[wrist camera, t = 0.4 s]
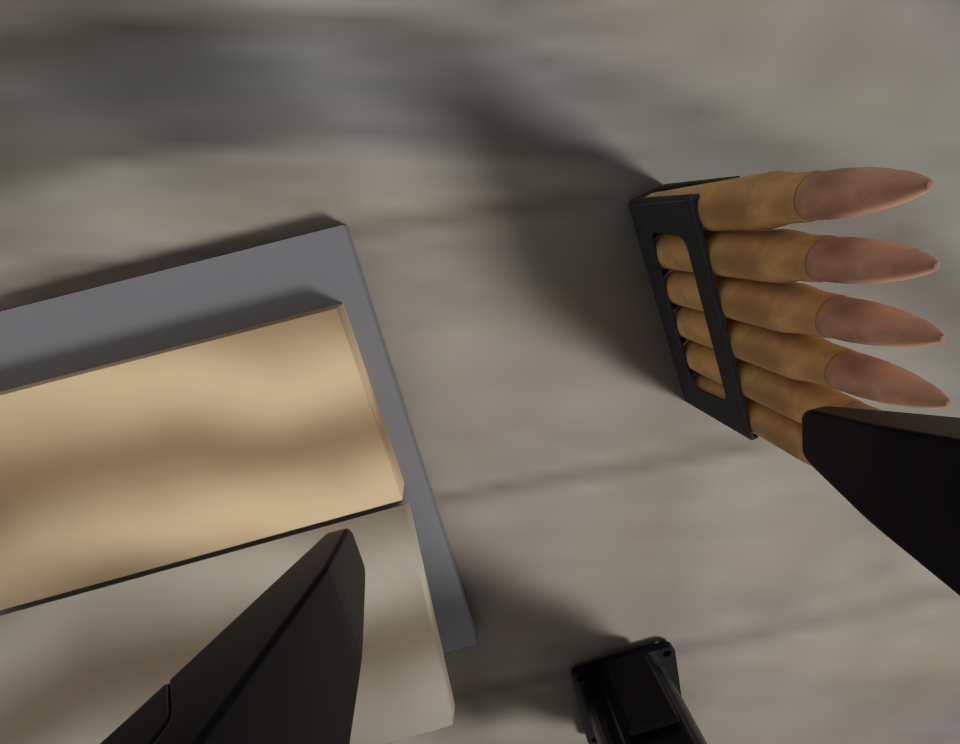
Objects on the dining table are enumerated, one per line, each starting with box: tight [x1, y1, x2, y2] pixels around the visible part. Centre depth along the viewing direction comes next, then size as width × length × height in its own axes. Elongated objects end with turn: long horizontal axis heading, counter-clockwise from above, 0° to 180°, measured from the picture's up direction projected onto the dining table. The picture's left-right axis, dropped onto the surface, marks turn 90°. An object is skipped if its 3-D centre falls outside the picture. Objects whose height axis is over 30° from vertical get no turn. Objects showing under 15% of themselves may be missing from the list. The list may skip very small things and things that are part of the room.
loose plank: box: [0, 503, 455, 744], centre depth 20 cm, size 9×20×2 cm, turn 103°
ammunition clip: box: [628, 167, 952, 466], centre depth 16 cm, size 11×2×12 cm, turn 23°
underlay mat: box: [0, 225, 478, 654], centre depth 22 cm, size 23×22×1 cm
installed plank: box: [0, 303, 404, 610], centre depth 20 cm, size 9×20×2 cm, turn 104°
